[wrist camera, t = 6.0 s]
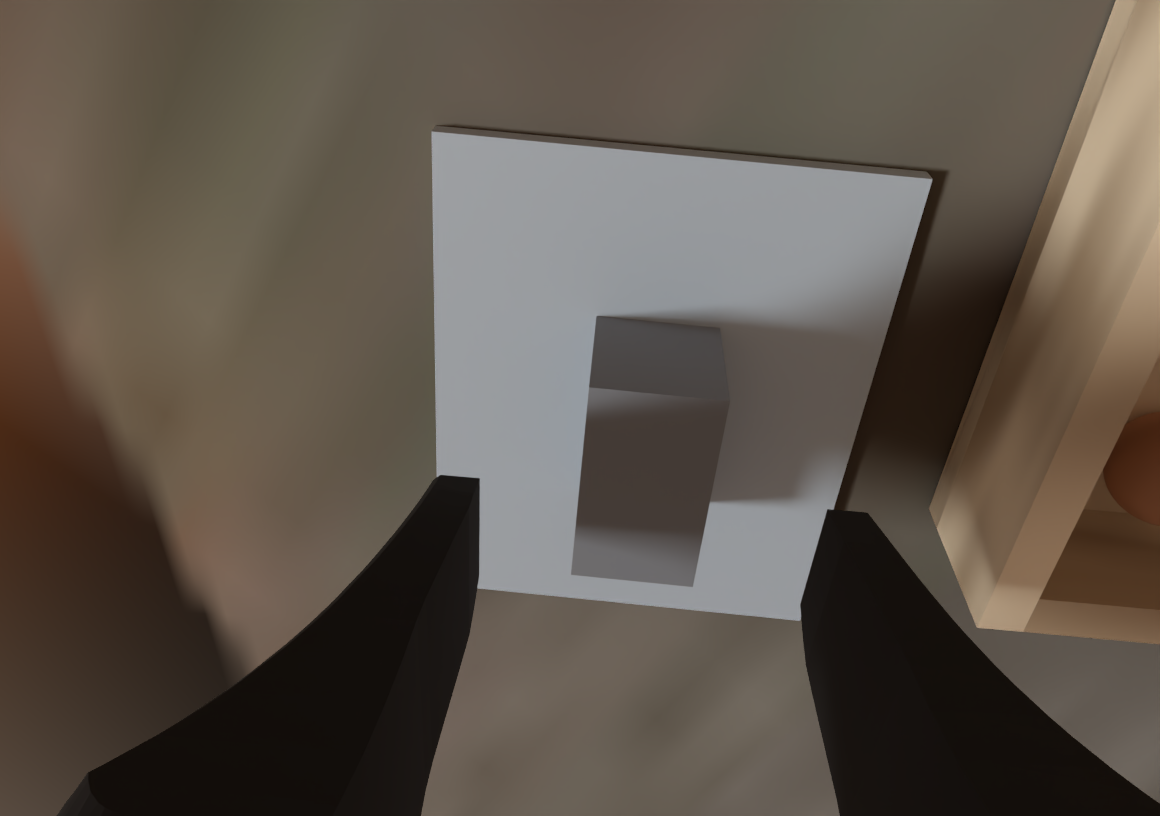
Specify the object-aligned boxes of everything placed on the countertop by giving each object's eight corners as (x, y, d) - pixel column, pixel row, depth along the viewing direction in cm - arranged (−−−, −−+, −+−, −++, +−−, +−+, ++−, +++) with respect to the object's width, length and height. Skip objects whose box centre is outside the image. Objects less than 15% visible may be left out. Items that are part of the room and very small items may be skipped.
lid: (793, 588, 21) (816, 711, 18) (446, 553, 21) (414, 670, 18) (917, 159, 15) (978, 238, 12) (443, 114, 15) (396, 182, 12)
